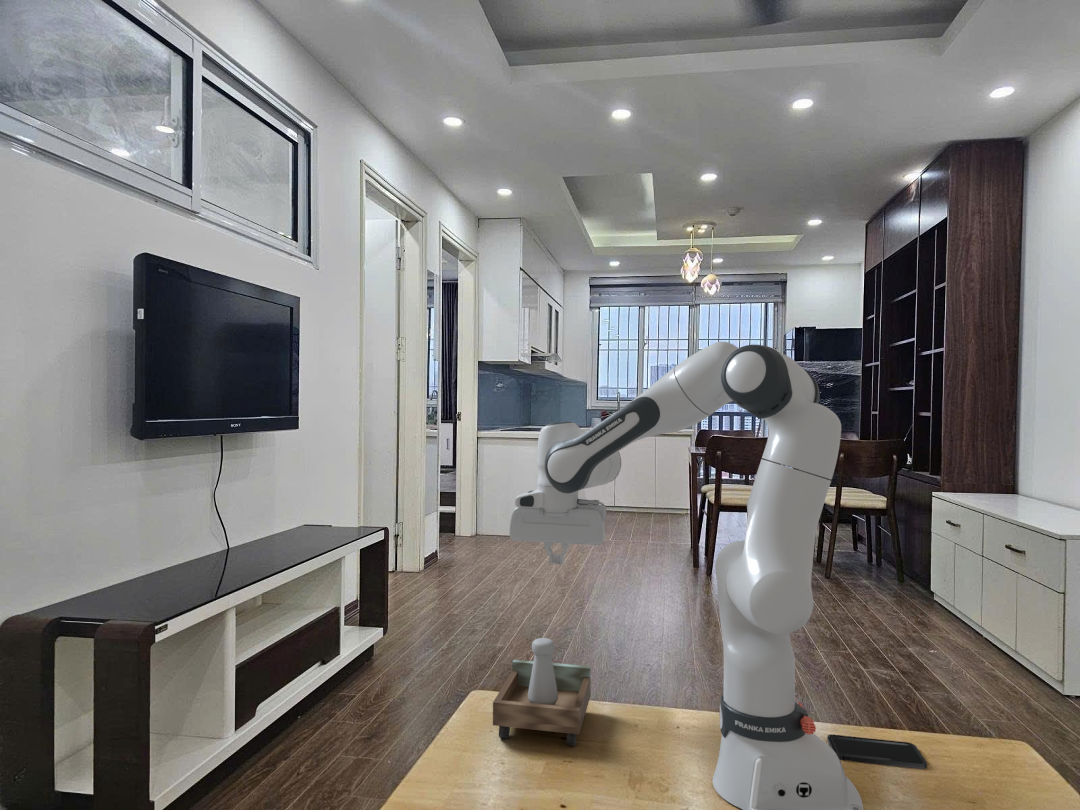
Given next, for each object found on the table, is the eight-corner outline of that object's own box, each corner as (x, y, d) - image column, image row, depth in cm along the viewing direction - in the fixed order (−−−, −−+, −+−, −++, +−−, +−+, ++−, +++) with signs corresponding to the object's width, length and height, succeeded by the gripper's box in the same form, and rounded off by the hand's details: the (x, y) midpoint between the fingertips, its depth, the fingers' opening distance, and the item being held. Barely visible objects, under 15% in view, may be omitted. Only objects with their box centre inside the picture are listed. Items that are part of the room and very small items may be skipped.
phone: (826, 733, 125) (913, 742, 122) (826, 739, 125) (913, 748, 122) (835, 755, 117) (929, 765, 114) (835, 762, 117) (929, 772, 114)
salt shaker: (543, 698, 131) (543, 632, 131) (564, 708, 127) (564, 640, 127) (521, 708, 127) (521, 639, 127) (542, 718, 123) (542, 648, 123)
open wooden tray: (590, 710, 135) (590, 666, 135) (579, 751, 119) (579, 700, 119) (513, 702, 138) (513, 659, 138) (492, 741, 122) (493, 692, 122)
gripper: (607, 498, 142) (607, 562, 142) (514, 494, 146) (514, 557, 146) (604, 502, 136) (604, 570, 136) (507, 498, 140) (506, 564, 140)
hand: (556, 563), depth 141 cm, fingers closed
